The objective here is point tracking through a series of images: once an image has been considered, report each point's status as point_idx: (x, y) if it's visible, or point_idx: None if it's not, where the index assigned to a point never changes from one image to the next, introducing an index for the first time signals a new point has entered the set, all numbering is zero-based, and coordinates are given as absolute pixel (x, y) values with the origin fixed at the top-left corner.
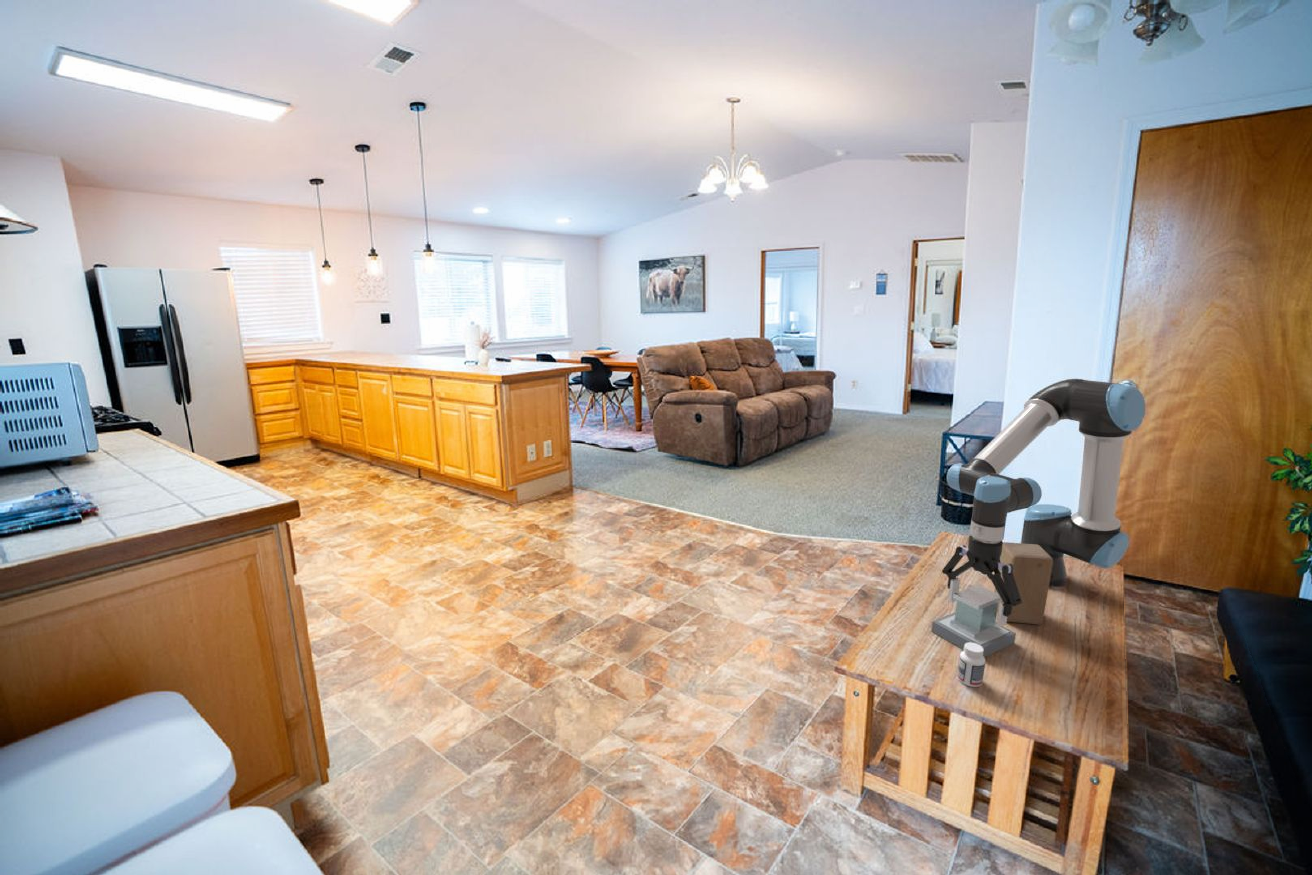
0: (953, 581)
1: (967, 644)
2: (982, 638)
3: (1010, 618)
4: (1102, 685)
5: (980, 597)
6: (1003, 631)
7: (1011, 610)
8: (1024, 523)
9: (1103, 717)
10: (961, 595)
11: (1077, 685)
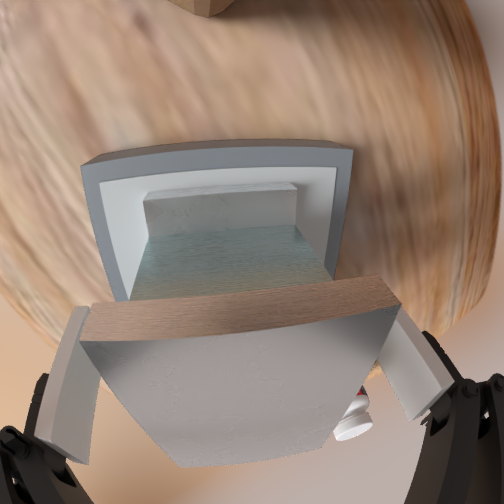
0: (88, 462)
1: (341, 437)
2: None
3: (229, 2)
4: (491, 155)
5: (282, 431)
6: (320, 192)
7: (444, 353)
8: None
9: (488, 248)
10: (209, 461)
11: (470, 198)
